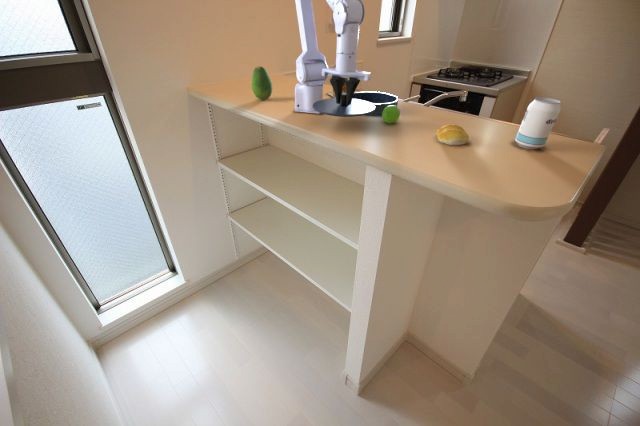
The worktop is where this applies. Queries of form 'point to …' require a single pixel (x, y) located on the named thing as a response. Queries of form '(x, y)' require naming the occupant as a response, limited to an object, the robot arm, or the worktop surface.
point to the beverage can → (538, 123)
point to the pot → (377, 101)
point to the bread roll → (452, 135)
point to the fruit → (261, 83)
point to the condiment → (342, 89)
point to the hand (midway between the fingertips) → (343, 103)
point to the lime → (391, 114)
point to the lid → (343, 107)
